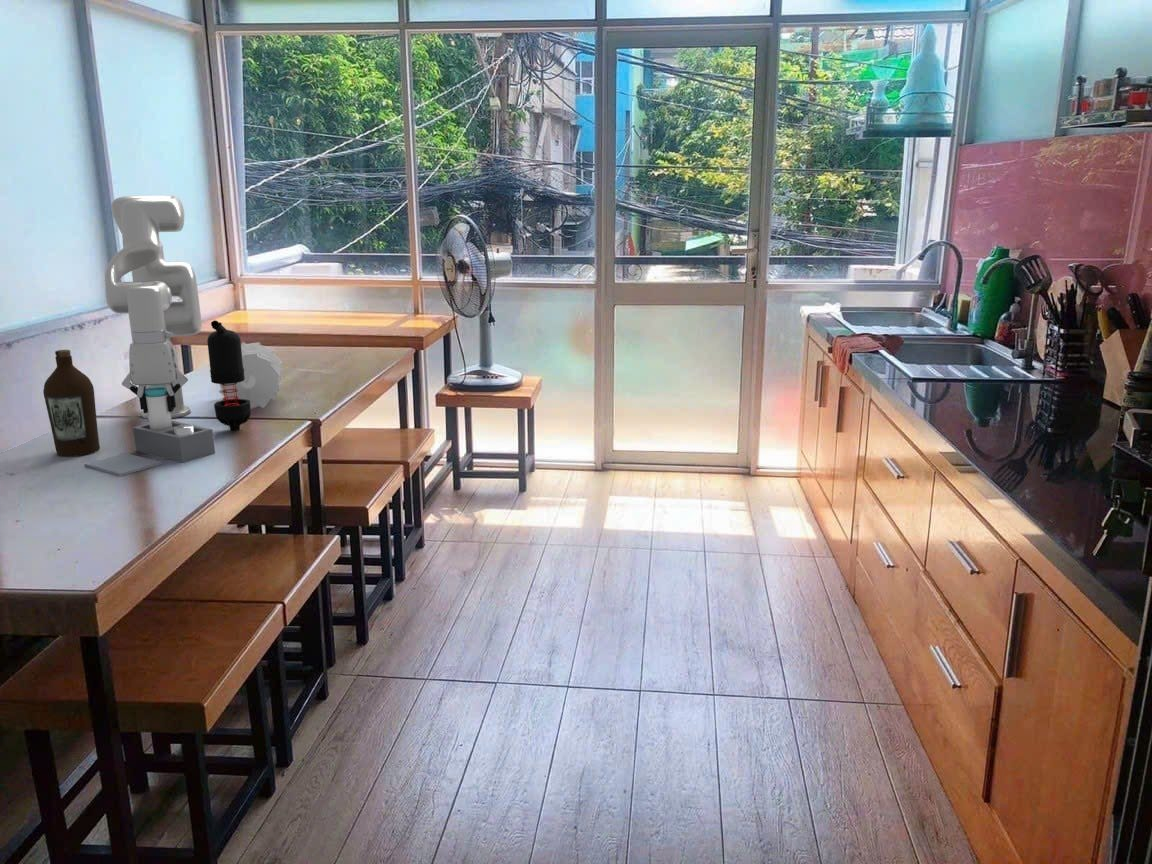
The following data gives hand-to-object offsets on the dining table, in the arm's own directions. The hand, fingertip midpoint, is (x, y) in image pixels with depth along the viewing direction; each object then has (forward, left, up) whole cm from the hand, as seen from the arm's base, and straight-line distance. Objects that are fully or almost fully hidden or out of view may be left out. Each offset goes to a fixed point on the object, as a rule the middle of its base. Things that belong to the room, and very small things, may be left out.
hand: (158, 410), depth 219 cm
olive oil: (-16, -12, -10) cm, 23 cm away
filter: (0, +22, -10) cm, 24 cm away
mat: (+4, -13, -10) cm, 17 cm away
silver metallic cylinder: (+9, 0, -8) cm, 12 cm away
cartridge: (0, 0, -8) cm, 8 cm away
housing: (+5, 0, -10) cm, 11 cm away
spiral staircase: (-20, +44, -10) cm, 49 cm away
